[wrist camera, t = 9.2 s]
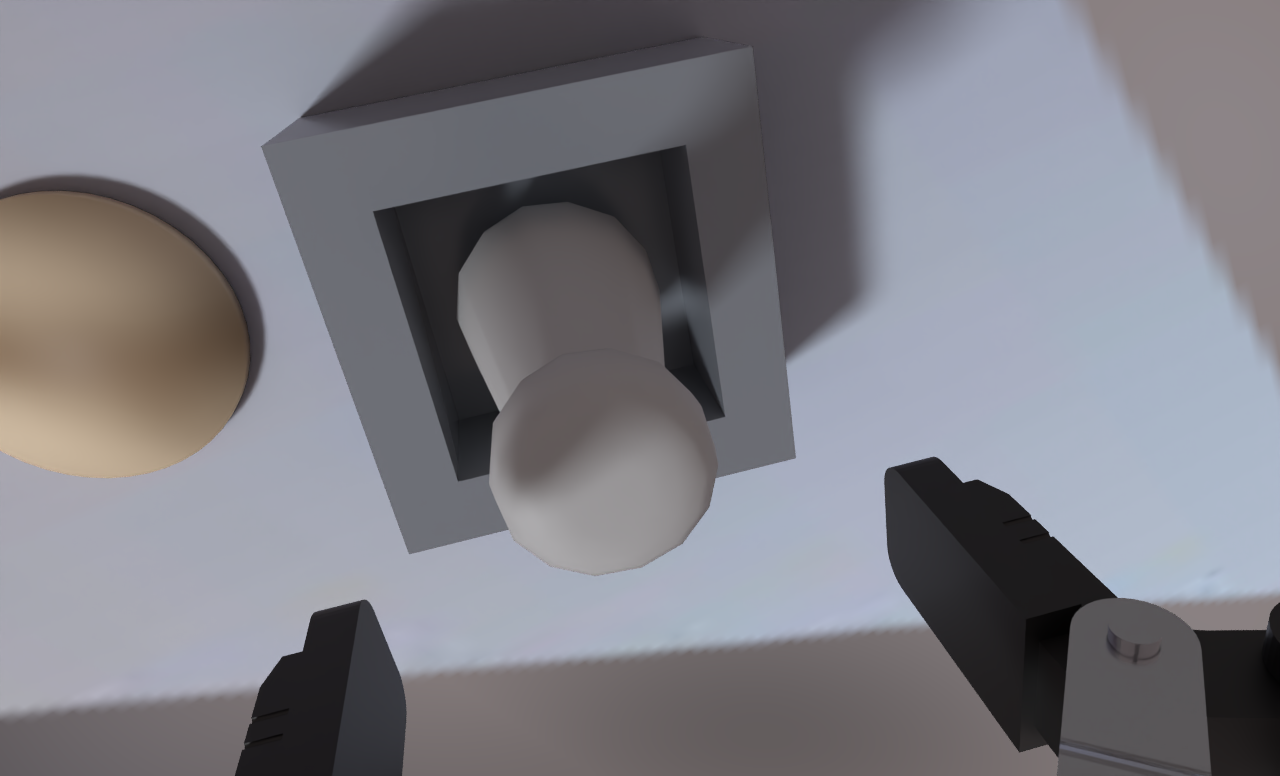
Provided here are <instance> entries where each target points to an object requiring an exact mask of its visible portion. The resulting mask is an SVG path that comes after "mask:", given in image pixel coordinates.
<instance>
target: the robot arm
mask: <svg viewBox="0 0 1280 776" xmlns="http://www.w3.org/2000/svg"><path fill="white" fill-rule="evenodd" d="M884 485H885V507H886V529H887V548H888V555H889V559H890V563H891V566H892V569H893V572H894V574H895V577H896V579H897V581H898V583H899V584H900V586H901V588H902V589H903V590H904V592H905V593H906V595H907V596H908V597H909V599H910V600H911V602H912V603H913V604H914V606H915V607H916V609H917V610H918V611H919V613H920V614H921V616H922V617H923V618H924V620H925V621H926V623H927V624H928V625H929V627H930V628H931V630H932V631H933V632H934V634H935V635H936V637H937V638H938V639H939V640H940V642H941V643H942V645H943V646H944V648H945V649H946V651H947V652H948V653H949V655H950V656H951V658H952V659H953V660H954V662H955V663H956V665H957V666H958V667H959V669H960V670H961V672H962V673H963V674H964V676H965V677H966V678H967V680H968V681H969V683H970V684H971V686H972V687H973V688H974V690H975V691H976V692H977V694H978V695H979V697H980V698H981V700H982V701H983V702H984V704H985V705H986V707H987V708H988V709H989V711H990V712H991V714H992V715H993V716H994V718H995V719H996V721H997V722H998V723H999V725H1000V726H1001V728H1002V729H1003V730H1004V732H1005V733H1006V734H1007V736H1008V737H1009V739H1010V740H1011V741H1012V742H1013V744H1014V746H1015V747H1016V748H1017V750H1018V751H1019V752H1023V751H1026V750H1030V749H1033V748H1037V747H1040V746H1043V745H1047V744H1048V745H1049V746H1050V748H1051V749H1052V750H1053V752H1054V753H1055V754H1056V756H1057V757H1058V770H1057V776H1280V603H1278V604H1277V605H1276V606H1275V607H1274V608H1273V610H1272V611H1271V613H1270V617H1269V621H1268V626H1267V630H1228V631H1227V630H1224V631H1223V630H1222V631H1205V630H1192V629H1191V628H1190V626H1189V625H1187V624H1186V623H1185V622H1184V621H1183V620H1182V619H1180V618H1179V617H1177V616H1176V615H1175V614H1173V613H1171V612H1169V611H1168V610H1166V609H1164V608H1161V607H1159V606H1157V605H1154V604H1151V603H1148V602H1144V601H1139V600H1135V599H1127V598H1117V597H1116V596H1115V595H1114V594H1113V593H1112V592H1111V591H1110V590H1109V589H1108V588H1107V587H1106V586H1105V585H1104V584H1103V583H1102V582H1101V581H1100V580H1099V579H1097V578H1096V577H1095V576H1094V575H1093V574H1092V573H1091V572H1090V571H1089V570H1088V569H1087V568H1086V567H1085V566H1084V565H1083V564H1082V563H1081V562H1080V561H1079V560H1077V559H1076V558H1075V557H1074V556H1073V555H1072V554H1071V553H1070V552H1069V551H1068V550H1067V549H1066V548H1065V547H1064V546H1063V545H1062V544H1061V543H1060V542H1059V541H1058V540H1056V539H1055V538H1054V537H1050V535H1049V532H1048V531H1047V530H1046V529H1045V528H1044V527H1043V526H1042V525H1041V524H1040V523H1039V522H1038V521H1037V520H1035V519H1034V520H1032V518H1031V515H1030V514H1029V513H1028V512H1027V511H1026V510H1025V509H1024V508H1023V507H1022V506H1021V505H1020V504H1019V503H1018V502H1017V501H1016V500H1014V499H1013V498H1012V497H1011V496H1010V495H1009V494H1007V493H1005V492H1003V491H1001V490H999V489H997V488H995V487H992V486H990V485H988V484H986V483H984V482H982V481H980V480H973V481H969V482H965V483H963V482H962V481H961V480H960V479H959V478H958V477H957V476H956V475H955V474H954V473H953V472H952V471H951V470H950V469H949V468H948V467H947V466H946V465H945V464H944V463H943V462H942V461H941V460H940V459H938V458H937V457H930V458H926V459H922V460H918V461H914V462H911V463H907V464H903V465H899V466H895V467H891V468H888V469H887V470H886V472H885V478H884ZM251 718H252V724H250V725H249V728H248V731H247V735H246V739H245V742H244V745H245V750H242V752H241V756H240V760H239V763H238V767H237V770H236V774H235V776H402V768H403V755H404V742H405V729H406V700H405V694H404V689H403V684H402V680H401V677H400V674H399V671H398V669H397V666H396V664H395V661H394V659H393V657H392V654H391V652H390V649H389V647H388V644H387V642H386V639H385V637H384V634H383V632H382V630H381V627H380V625H379V622H378V620H377V617H376V615H375V612H374V610H373V608H372V606H371V604H370V603H369V602H368V601H367V600H361V601H357V602H353V603H349V604H345V605H341V606H337V607H333V608H329V609H325V610H321V611H317V612H314V613H313V615H312V616H311V619H310V623H309V627H308V632H307V636H306V640H305V644H304V648H303V651H302V652H299V653H295V654H291V655H287V656H283V657H282V658H281V659H280V661H279V662H278V663H277V665H276V666H275V668H274V669H273V670H272V672H271V673H270V674H269V676H268V677H267V678H266V680H265V681H264V683H263V684H262V685H261V687H260V689H259V693H258V696H257V700H256V703H255V707H254V710H253V714H252V717H251Z"/></svg>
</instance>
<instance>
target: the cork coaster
mask: <svg viewBox="0 0 1280 776" xmlns="http://www.w3.org/2000/svg"><path fill="white" fill-rule="evenodd" d="M249 366H250V339H249V334H248V328H247V323H246V320H245V317H244V314H243V311H242V308H241V306H240V304H239V302H238V299H237V297H236V295H235V293H234V291H233V289H232V288H231V286H230V285H229V283H228V281H227V280H226V278H225V277H224V275H223V274H222V272H221V271H220V270H219V269H218V268H217V266H216V265H215V264H214V263H213V262H212V260H211V259H210V258H209V257H208V256H207V255H206V254H205V253H204V252H203V251H202V250H201V249H200V248H199V247H198V246H197V245H196V244H195V243H194V242H192V241H191V240H190V239H189V238H187V237H186V236H185V235H183V234H182V233H181V232H179V231H178V230H177V229H175V228H174V227H172V226H171V225H169V224H167V223H166V222H164V221H162V220H161V219H159V218H157V217H156V216H154V215H152V214H150V213H147V212H145V211H143V210H141V209H139V208H137V207H134V206H132V205H129V204H126V203H123V202H120V201H117V200H114V199H111V198H107V197H102V196H98V195H93V194H89V193H81V192H71V191H38V192H30V193H23V194H17V195H14V196H10V197H6V198H3V199H0V451H2V452H4V453H6V454H8V455H10V456H12V457H14V458H17V459H19V460H21V461H23V462H25V463H28V464H31V465H34V466H37V467H40V468H43V469H46V470H50V471H54V472H58V473H63V474H67V475H74V476H82V477H92V478H117V477H130V476H135V475H141V474H147V473H150V472H154V471H157V470H161V469H164V468H167V467H169V466H171V465H174V464H176V463H178V462H181V461H183V460H184V459H186V458H188V457H189V456H191V455H193V454H195V453H196V452H198V451H199V450H200V449H202V448H203V447H204V446H205V445H207V444H208V443H209V442H210V441H211V440H212V439H213V438H214V437H215V436H216V435H217V434H218V433H219V432H220V431H221V430H222V429H223V427H224V426H225V424H226V423H227V421H228V420H229V418H230V417H231V416H232V414H233V412H234V410H235V409H236V407H237V405H238V403H239V401H240V398H241V396H242V394H243V392H244V389H245V385H246V382H247V379H248V374H249Z"/></svg>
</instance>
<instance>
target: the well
mask: <svg viewBox="0 0 1280 776" xmlns="http://www.w3.org/2000/svg"><path fill="white" fill-rule="evenodd" d="M261 147H262V150H263V153H264V155H265V158H266V161H267V164H268V166H269V169H270V172H271V175H272V177H273V180H274V183H275V186H276V188H277V191H278V194H279V197H280V199H281V202H282V205H283V208H284V210H285V213H286V216H287V219H288V221H289V224H290V227H291V230H292V233H293V235H294V238H295V241H296V244H297V246H298V249H299V252H300V255H301V257H302V260H303V263H304V266H305V268H306V271H307V274H308V277H309V279H310V282H311V285H312V288H313V290H314V293H315V296H316V299H317V301H318V304H319V307H320V310H321V313H322V315H323V318H324V321H325V324H326V326H327V329H328V332H329V335H330V337H331V340H332V343H333V346H334V348H335V351H336V354H337V357H338V359H339V362H340V365H341V368H342V370H343V373H344V376H345V379H346V382H347V384H348V387H349V390H350V393H351V395H352V398H353V401H354V404H355V406H356V409H357V412H358V415H359V417H360V420H361V423H362V426H363V428H364V431H365V434H366V437H367V439H368V442H369V445H370V448H371V450H372V453H373V456H374V459H375V462H376V464H377V467H378V470H379V473H380V475H381V478H382V481H383V484H384V486H385V489H386V492H387V495H388V497H389V500H390V503H391V506H392V508H393V511H394V514H395V517H396V519H397V522H398V525H399V528H400V530H401V533H402V536H403V539H404V542H405V544H406V547H407V550H408V553H409V554H412V553H416V552H420V551H424V550H428V549H432V548H436V547H440V546H444V545H448V544H452V543H456V542H461V541H465V540H469V539H473V538H477V537H481V536H485V535H489V534H493V533H497V532H501V531H505V530H509V529H508V527H507V524H506V522H505V520H504V518H503V516H502V514H501V511H500V509H499V507H498V505H497V503H496V500H495V498H494V495H493V493H492V490H491V488H490V485H489V475H490V458H491V444H492V429H493V422H494V421H495V419H496V417H497V416H498V414H499V413H500V411H499V409H498V407H497V405H496V403H495V401H494V399H493V397H492V394H491V392H490V390H489V388H488V386H487V384H486V382H485V380H484V378H483V376H482V374H481V372H480V370H479V368H478V366H477V363H476V361H475V359H474V357H473V355H472V353H471V350H470V348H469V346H468V344H467V341H466V339H465V337H464V335H463V332H462V330H461V328H460V326H459V323H458V321H457V319H456V313H457V295H458V276H459V272H460V270H461V269H462V267H463V265H464V264H465V262H466V260H467V259H468V257H469V255H470V254H471V252H472V251H473V249H474V247H475V246H476V244H477V242H478V241H479V239H480V237H481V236H482V234H483V232H484V231H486V230H487V229H489V228H490V227H492V226H493V225H495V224H496V223H498V222H499V221H501V220H502V219H504V218H505V217H507V216H508V215H510V214H511V213H513V212H514V211H516V210H518V209H519V208H521V207H522V206H530V205H540V204H550V203H559V202H570V203H573V204H576V205H579V206H582V207H586V208H589V209H592V210H595V211H598V212H601V213H605V214H608V215H611V216H613V217H615V218H616V219H617V220H618V221H619V222H620V223H621V224H622V225H623V226H624V227H625V228H626V229H627V231H628V232H629V233H630V234H631V235H632V236H633V237H634V238H635V239H636V240H637V241H638V242H639V243H640V244H641V245H642V246H643V247H644V249H645V250H646V253H647V255H648V258H649V261H650V264H651V267H652V270H653V273H654V276H655V279H656V281H657V284H658V287H659V290H660V304H661V319H662V334H663V348H664V363H665V368H666V369H667V370H668V371H669V372H670V373H671V374H672V375H673V376H674V377H676V378H677V379H678V380H679V381H680V382H681V383H682V384H683V385H684V386H685V387H686V388H687V389H688V390H689V391H690V392H691V393H692V394H693V396H694V397H695V398H696V399H697V401H698V402H699V403H700V405H701V406H702V409H703V412H704V415H705V418H706V421H707V424H708V427H709V430H710V433H711V436H712V439H713V442H714V445H715V449H716V455H717V461H718V469H717V473H716V478H718V477H722V476H726V475H730V474H734V473H738V472H742V471H746V470H750V469H754V468H758V467H762V466H766V465H770V464H774V463H778V462H782V461H786V460H790V459H794V458H796V455H795V446H794V436H793V427H792V417H791V408H790V398H789V389H788V379H787V370H786V360H785V351H784V341H783V332H782V322H781V313H780V303H779V294H778V284H777V275H776V265H775V256H774V246H773V237H772V227H771V218H770V208H769V199H768V189H767V180H766V170H765V161H764V151H763V142H762V132H761V123H760V113H759V104H758V94H757V85H756V75H755V66H754V56H753V47H752V46H748V45H743V44H738V43H733V42H728V41H722V40H717V39H712V38H707V37H699V38H694V39H689V40H684V41H679V42H674V43H669V44H664V45H659V46H654V47H649V48H644V49H639V50H634V51H629V52H624V53H620V54H615V55H610V56H605V57H600V58H595V59H590V60H585V61H580V62H575V63H570V64H565V65H560V66H555V67H550V68H545V69H540V70H535V71H530V72H525V73H520V74H515V75H510V76H505V77H501V78H496V79H491V80H486V81H481V82H476V83H471V84H466V85H461V86H456V87H451V88H446V89H441V90H436V91H431V92H426V93H421V94H416V95H411V96H406V97H401V98H396V99H391V100H387V101H382V102H377V103H372V104H367V105H362V106H357V107H352V108H347V109H342V110H337V111H332V112H327V113H322V114H317V115H312V116H307V117H302V118H299V119H297V120H296V121H295V122H293V123H292V124H291V125H289V126H288V127H287V128H285V129H284V130H283V131H281V132H280V133H279V134H277V135H276V136H275V137H273V138H272V139H271V140H269V141H268V142H267V143H265V144H264V145H263V146H261Z"/></svg>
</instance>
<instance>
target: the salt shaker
mask: <svg viewBox="0 0 1280 776" xmlns="http://www.w3.org/2000/svg"><path fill="white" fill-rule="evenodd" d="M456 319H457V321H458V323H459V326H460V328H461V330H462V332H463V335H464V337H465V339H466V341H467V344H468V346H469V348H470V350H471V353H472V355H473V357H474V359H475V361H476V363H477V366H478V368H479V370H480V372H481V374H482V376H483V378H484V380H485V382H486V384H487V386H488V388H489V390H490V392H491V394H492V397H493V399H494V401H495V403H496V405H497V407H498V409H499V411H500V413H499V414H498V416H497V417H496V419H495V421H494V422H493V429H492V444H491V458H490V475H489V485H490V488H491V490H492V493H493V495H494V498H495V500H496V503H497V505H498V507H499V509H500V511H501V514H502V516H503V518H504V520H505V522H506V524H507V527H508V529H509V531H510V533H511V535H512V538H513V540H514V541H515V542H516V543H518V544H519V545H521V546H522V547H523V548H525V549H526V550H528V551H529V552H530V553H532V554H533V555H535V556H536V557H537V558H539V559H540V560H542V561H543V562H544V563H546V564H547V565H549V566H550V567H555V568H559V569H564V570H569V571H573V572H578V573H583V574H587V575H592V576H599V575H604V574H609V573H615V572H620V571H625V570H630V569H636V568H641V567H643V566H645V565H647V564H648V563H650V562H652V561H654V560H655V559H657V558H659V557H660V556H662V555H664V554H666V553H667V552H669V551H671V550H672V549H674V548H676V547H677V546H679V545H681V544H683V542H684V541H685V540H686V538H687V537H688V535H689V534H690V533H691V531H692V530H693V529H694V527H695V526H696V525H697V523H698V522H699V520H700V519H701V518H702V516H703V515H704V514H705V512H706V511H707V510H708V508H709V506H710V501H711V497H712V492H713V487H714V483H715V478H716V473H717V469H718V461H717V455H716V449H715V445H714V442H713V439H712V436H711V433H710V430H709V427H708V424H707V421H706V418H705V415H704V412H703V409H702V406H701V405H700V403H699V402H698V401H697V399H696V398H695V397H694V396H693V394H692V393H691V392H690V391H689V390H688V389H687V388H686V387H685V386H684V385H683V384H682V383H681V382H680V381H679V380H678V379H677V378H676V377H674V376H673V375H672V374H671V373H670V372H669V371H668V370H667V369H666V368H665V363H664V348H663V334H662V319H661V304H660V290H659V287H658V284H657V281H656V279H655V276H654V273H653V270H652V267H651V264H650V261H649V258H648V255H647V253H646V250H645V249H644V247H643V246H642V245H641V244H640V243H639V242H638V241H637V240H636V239H635V238H634V237H633V236H632V235H631V234H630V233H629V232H628V231H627V229H626V228H625V227H624V226H623V225H622V224H621V223H620V222H619V221H618V220H617V219H616V218H615V217H613V216H611V215H608V214H605V213H601V212H598V211H595V210H592V209H589V208H586V207H582V206H579V205H576V204H573V203H570V202H559V203H550V204H540V205H530V206H522V207H521V208H519V209H518V210H516V211H514V212H513V213H511V214H510V215H508V216H507V217H505V218H504V219H502V220H501V221H499V222H498V223H496V224H495V225H493V226H492V227H490V228H489V229H487V230H486V231H484V232H483V234H482V236H481V237H480V239H479V241H478V242H477V244H476V246H475V247H474V249H473V251H472V252H471V254H470V255H469V257H468V259H467V260H466V262H465V264H464V265H463V267H462V269H461V270H460V272H459V276H458V295H457V313H456Z"/></svg>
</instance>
